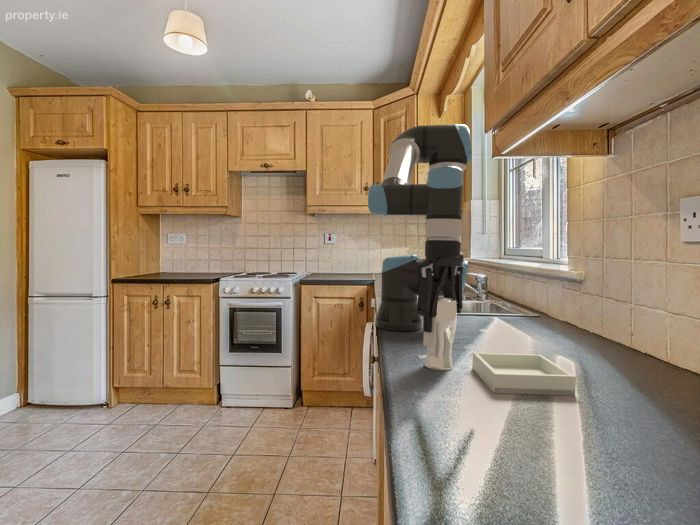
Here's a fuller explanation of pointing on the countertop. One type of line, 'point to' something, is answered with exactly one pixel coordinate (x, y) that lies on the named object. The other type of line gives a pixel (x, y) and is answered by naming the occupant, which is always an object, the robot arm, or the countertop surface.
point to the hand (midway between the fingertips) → (439, 343)
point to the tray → (523, 374)
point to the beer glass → (443, 335)
